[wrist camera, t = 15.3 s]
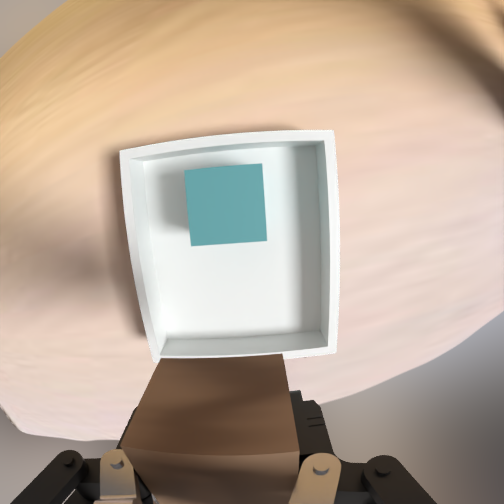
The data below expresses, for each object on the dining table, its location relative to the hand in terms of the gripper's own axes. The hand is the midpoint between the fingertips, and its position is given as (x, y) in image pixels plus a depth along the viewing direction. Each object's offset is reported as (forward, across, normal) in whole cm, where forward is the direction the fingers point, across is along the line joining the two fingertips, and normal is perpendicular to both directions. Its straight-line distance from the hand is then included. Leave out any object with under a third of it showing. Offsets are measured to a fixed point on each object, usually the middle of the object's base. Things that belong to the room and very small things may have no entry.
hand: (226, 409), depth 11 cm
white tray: (+15, 0, -4) cm, 16 cm away
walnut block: (0, 0, 0) cm, 0 cm away
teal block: (+14, 0, -8) cm, 16 cm away
